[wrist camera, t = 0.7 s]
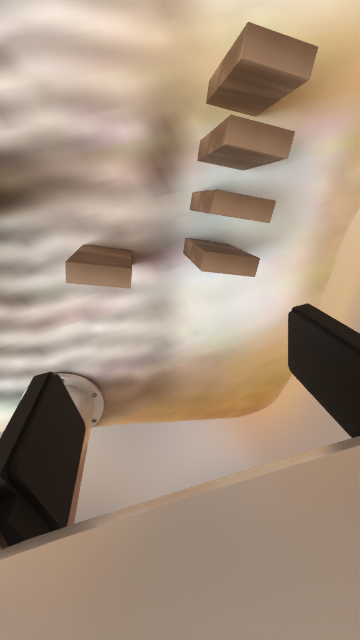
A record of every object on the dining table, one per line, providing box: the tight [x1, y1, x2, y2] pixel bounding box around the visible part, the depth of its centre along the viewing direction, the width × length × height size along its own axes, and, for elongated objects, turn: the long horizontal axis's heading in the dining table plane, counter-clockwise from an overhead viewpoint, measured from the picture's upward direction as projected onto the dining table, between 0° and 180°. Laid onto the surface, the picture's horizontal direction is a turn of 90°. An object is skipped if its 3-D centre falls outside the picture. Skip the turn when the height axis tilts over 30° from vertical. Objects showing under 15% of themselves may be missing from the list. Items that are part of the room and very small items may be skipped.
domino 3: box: [197, 115, 295, 170], centre depth 26 cm, size 2×6×10 cm, turn 81°
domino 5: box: [183, 238, 260, 277], centre depth 30 cm, size 2×6×10 cm, turn 81°
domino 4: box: [190, 190, 276, 223], centre depth 28 cm, size 2×6×10 cm, turn 81°
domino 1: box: [65, 245, 132, 288], centre depth 29 cm, size 2×6×10 cm, turn 81°
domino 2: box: [206, 22, 318, 116], centre depth 24 cm, size 2×6×10 cm, turn 81°
